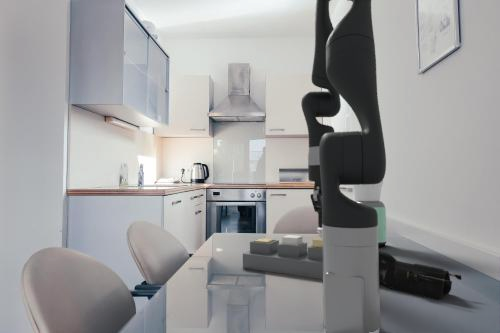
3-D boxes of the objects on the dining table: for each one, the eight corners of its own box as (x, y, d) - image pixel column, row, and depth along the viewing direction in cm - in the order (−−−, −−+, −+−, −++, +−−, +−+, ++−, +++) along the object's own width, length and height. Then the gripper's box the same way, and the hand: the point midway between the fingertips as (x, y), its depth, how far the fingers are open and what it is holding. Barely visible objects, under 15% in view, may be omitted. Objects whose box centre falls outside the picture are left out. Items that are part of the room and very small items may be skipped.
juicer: (374, 251, 119) (372, 151, 121) (340, 246, 129) (339, 154, 130) (398, 244, 132) (395, 154, 133) (365, 239, 142) (363, 156, 143)
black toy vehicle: (450, 308, 68) (450, 267, 68) (341, 278, 87) (342, 246, 87) (461, 299, 73) (461, 261, 73) (356, 273, 91) (356, 243, 91)
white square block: (296, 249, 94) (296, 238, 94) (282, 248, 96) (282, 237, 96) (302, 247, 98) (302, 236, 98) (288, 245, 100) (288, 234, 100)
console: (331, 280, 85) (331, 251, 85) (242, 267, 98) (242, 243, 98) (344, 269, 95) (343, 244, 95) (262, 259, 108) (262, 237, 109)
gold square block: (267, 252, 98) (267, 241, 98) (254, 251, 100) (254, 240, 101) (274, 250, 102) (274, 239, 102) (261, 248, 104) (261, 238, 104)
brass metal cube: (328, 253, 89) (328, 240, 89) (312, 251, 91) (312, 239, 92) (333, 250, 93) (333, 238, 93) (318, 248, 95) (317, 237, 95)
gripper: (327, 162, 86) (329, 231, 85) (342, 164, 97) (343, 225, 96) (300, 163, 89) (301, 229, 89) (317, 164, 101) (318, 223, 100)
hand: (323, 227), depth 93 cm, fingers closed
